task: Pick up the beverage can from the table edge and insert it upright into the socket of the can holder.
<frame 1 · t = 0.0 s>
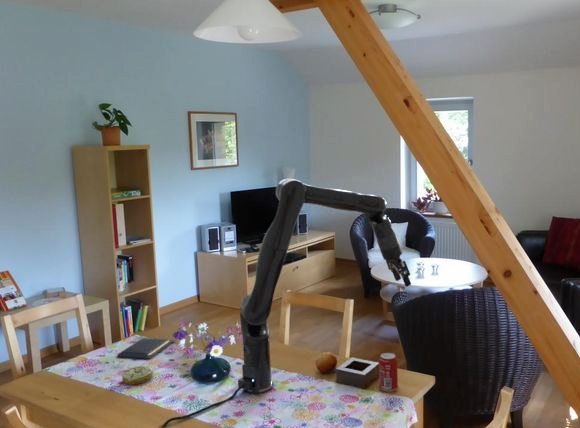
hand: (403, 282, 215), 31 cm above the table, tool tilted 20°, fingers open, 8 cm apart
decorated donut: (137, 380, 209), on the table
fruit: (326, 371, 213), on the table
can holder: (358, 379, 205), on the table
beverage can: (388, 389, 197), on the table
dark grey book: (146, 349, 238), on the table
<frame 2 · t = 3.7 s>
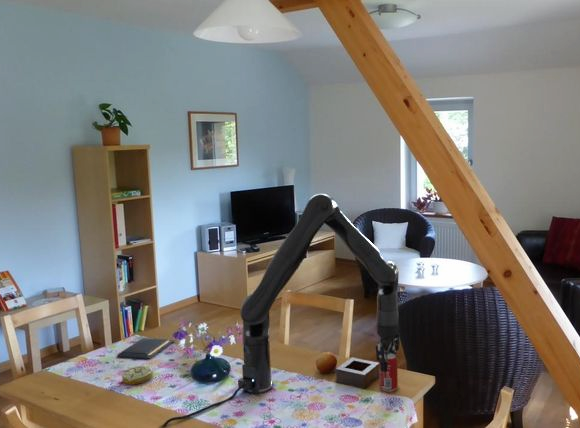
hand: (388, 367, 196), 8 cm above the table, tool pointing down, fingers closed on beverage can, 6 cm apart
beverage can: (388, 389, 197), on the table, touching gripper
everything else where it was.
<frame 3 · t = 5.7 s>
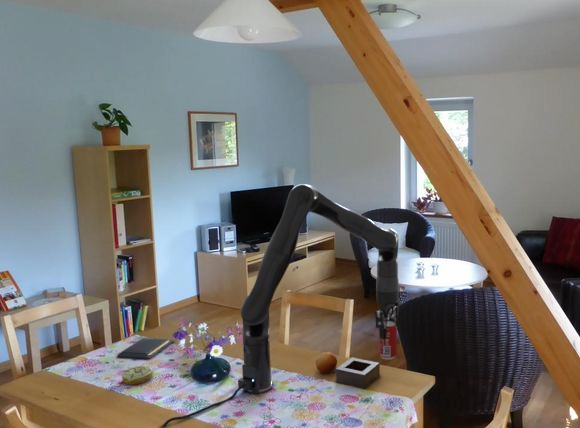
hand: (387, 335, 194), 19 cm above the table, tool pointing down, fingers closed on beverage can, 6 cm apart
beverage can: (387, 357, 195), point 11 cm above the table, touching gripper
everything else where it was.
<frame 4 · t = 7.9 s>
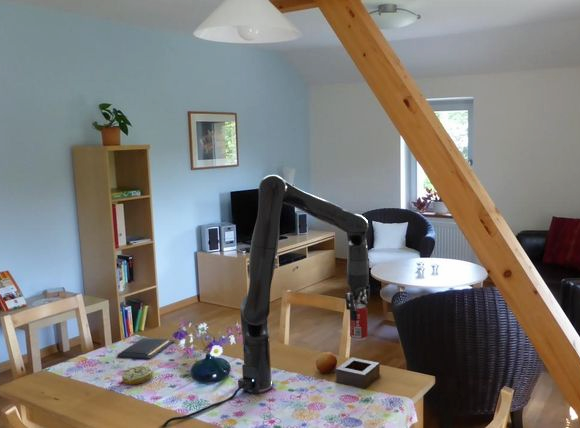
hand: (358, 317, 201), 23 cm above the table, tool pointing down, fingers closed on beverage can, 6 cm apart
beverage can: (358, 338, 202), point 15 cm above the table, touching gripper
everything else where it was.
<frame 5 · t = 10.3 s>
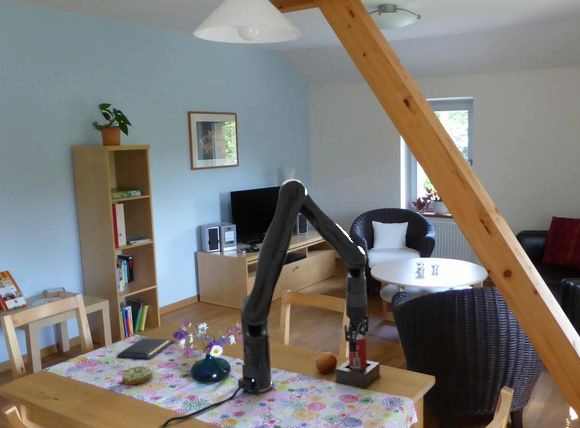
hand: (357, 348, 204), 12 cm above the table, tool pointing down, fingers closed on beverage can, 6 cm apart
beverage can: (358, 368, 205), point 4 cm above the table, touching gripper
everything else where it was.
when the fingers open (8 cm above the table, at t = 12.0 s): beverage can stays where it is, resting in can holder.
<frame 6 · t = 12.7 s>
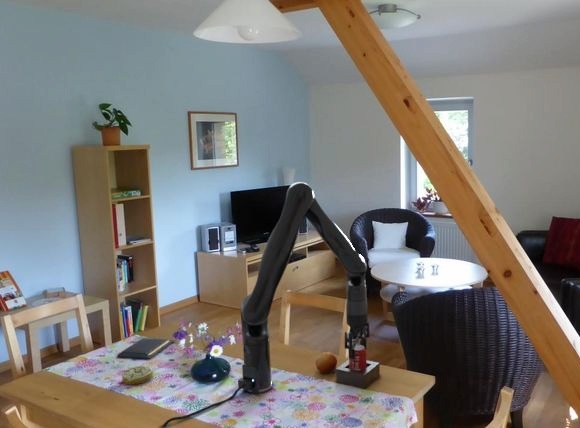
hand: (357, 354, 204), 9 cm above the table, tool pointing down, fingers open, 8 cm apart
beverage can: (358, 379, 205), resting in can holder
everything else where it was.
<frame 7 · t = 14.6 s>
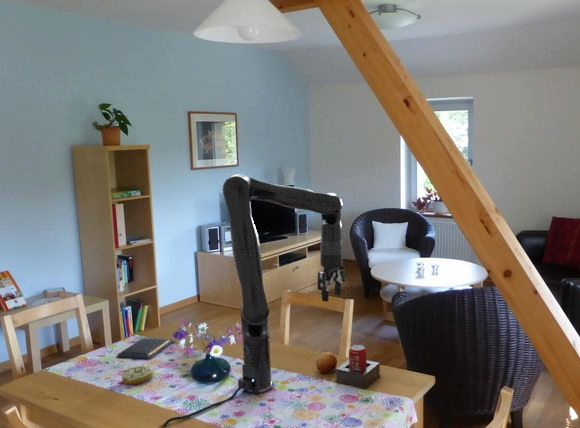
hand: (331, 298, 196), 32 cm above the table, tool pointing down, fingers open, 8 cm apart
nothing on the table moved.
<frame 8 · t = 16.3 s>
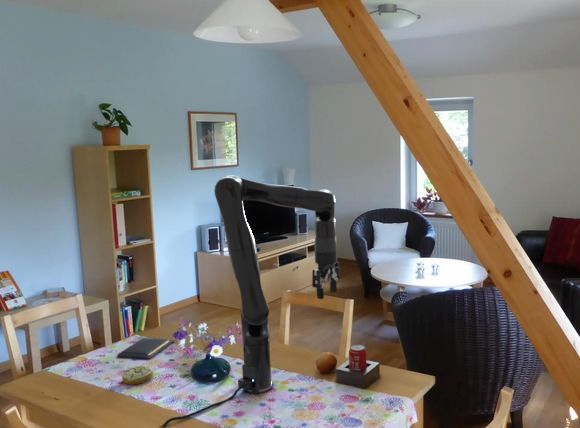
hand: (327, 295, 195), 33 cm above the table, tool pointing down, fingers open, 8 cm apart
nothing on the table moved.
at the end: beverage can 0.0 cm off-centre in the can holder, point 0.0 cm above the can holder's base; beverage can tilted 0°; the gripper is holding nothing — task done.
